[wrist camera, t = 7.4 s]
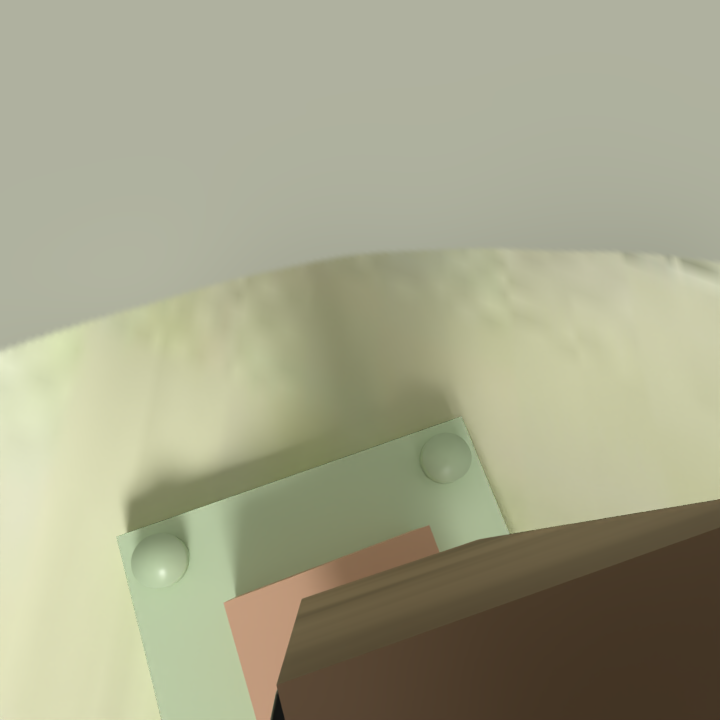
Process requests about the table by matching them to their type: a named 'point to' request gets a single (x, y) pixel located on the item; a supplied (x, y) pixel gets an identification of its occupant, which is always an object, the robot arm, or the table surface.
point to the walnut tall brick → (523, 629)
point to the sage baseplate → (287, 552)
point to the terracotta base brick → (282, 600)
